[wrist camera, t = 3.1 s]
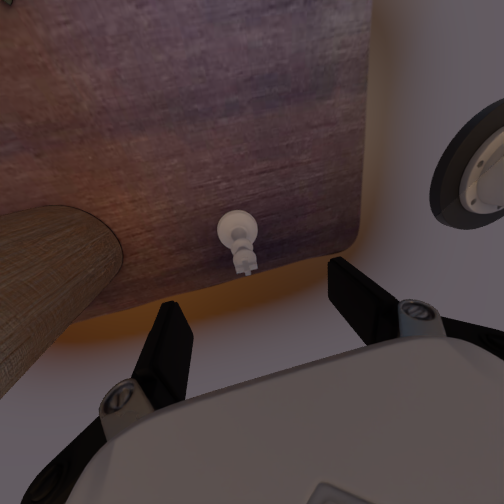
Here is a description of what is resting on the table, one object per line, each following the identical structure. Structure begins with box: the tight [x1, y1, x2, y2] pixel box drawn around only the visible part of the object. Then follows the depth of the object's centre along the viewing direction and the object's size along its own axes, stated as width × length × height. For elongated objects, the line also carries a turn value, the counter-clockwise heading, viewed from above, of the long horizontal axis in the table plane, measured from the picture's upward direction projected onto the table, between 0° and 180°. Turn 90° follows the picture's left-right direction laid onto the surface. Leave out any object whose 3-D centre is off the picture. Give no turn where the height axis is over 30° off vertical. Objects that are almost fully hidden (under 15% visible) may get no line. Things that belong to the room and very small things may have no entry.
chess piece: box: [217, 210, 258, 276], centre depth 18 cm, size 5×5×10 cm
